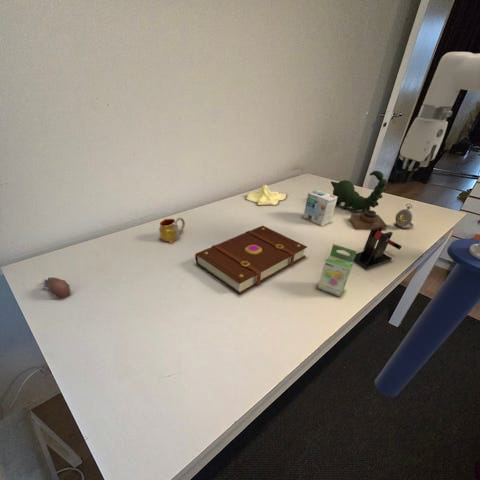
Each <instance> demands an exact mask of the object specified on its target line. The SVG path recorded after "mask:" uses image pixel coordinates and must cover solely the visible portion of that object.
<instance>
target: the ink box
mask: <svg viewBox="0 0 480 480" xmlns="http://www.w3.org/2000/svg"><path fill="white" fill-rule="evenodd" d="M338 251H343V252H346V253H347V254H344V253H341V252H338ZM357 253H358V250H355V249H351V248H348V247H345V246H341V245H338V244H332V245H331V249H330V253H329V256H327V258H326V259H325V261H324V264H323V267H322V271H321V274H320V278H319V282H318V285H317V286H318V287H317V289H318V290H321V291H324V292H326V293H329V294H332V295H335V296H337V297H340V296H341V294H342V293H343V291H344V290H345V287H346V284H347V281H348V278H349V276H350V273H351V270H352V267H353V265H354V258H355V256H356V254H357ZM348 254H349V255H348Z"/></svg>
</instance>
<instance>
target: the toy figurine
mask: <svg viewBox="0 0 480 480" xmlns="http://www.w3.org/2000/svg"><path fill="white" fill-rule="evenodd" d="M371 176H374V177H375V178H376V180H377V181H378V182H377V184H376V185H375V187H374V189H373V191H371V192H370V195H368V196H367V197H364V196H362V195H360V193H359V192H358V191H357V190H356V189H355V185H354V184H353V182H352V181H350V180H347V179H344V180H341V181H339V182H337V181H332V180H331V181H330V184H331V186H332V187H333V190H332V195H334V196H337V197H338V198H337V201H336V205H335V206H339V205H341V203H343V209H345V210H347V209H349V208H352V210H351V211H352V212H353V213H357V212H359V211H361V214H362V213H363V212H366V211H367V210H371V208H372V209H374V208H376V207H378V206H379V202H378V201H379V200H380V199H382V198H383V193H384V192H386V190H387V188H386V186H389V182H388V180H387V179H386V178H384V173H382V172H381V171H380V170H373V171H372V172H370V173H369V177H371Z"/></svg>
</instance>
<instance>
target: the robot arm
mask: <svg viewBox="0 0 480 480" xmlns="http://www.w3.org/2000/svg"><path fill="white" fill-rule="evenodd" d="M461 90H465V91H470V92H473V93H480V53H473V52H471V51H449V52H446V53H445V54H444V55H443V56H442V57H441V58H440V60H439V62H438V65H437V67H436V70H435V72H434V74H433V77H432V80H431V81H430V85H429V87H428V89H427V92H426V95H425V97H424V100H423V102H422V104H421V106H420V109H419V112H418V115H417V116H416V117H415V118H414V120H413V122H412V123H411V124H410V127H409V129H408V131H407V133H406V135H405V138H404V140H403V142H402V144H401V147H400V151H399V156H398V159H400V160H401V161H402V172H401V175H400V177H399V179H398V183H400V184H402V185H404V184H405V185H406V184H410V182H411V180H412V178H413V175H414V173H415V172H416V171H417V170H419V169H420V168H426V167H428V166H429V164H430V162H431V161H434V160H435V159H436V156H437V154H438V152H439V150H440V147H441V145H442V143H443V141H444V140H443V139H444V137H445V134H446V131H447V128H448V123H449V121H447V120H448V118H451V116H452V115H453V110H452V109H453V106H454V104H455V102H456V100H457V98H458V96H459V94H460V91H461ZM469 252H470V253H471V254H472V255H473V256H474V257H476V258H478V259H480V242H479V244H474V245H472V246H470V248H469Z"/></svg>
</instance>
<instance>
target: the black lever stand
mask: <svg viewBox="0 0 480 480" xmlns="http://www.w3.org/2000/svg"><path fill="white" fill-rule="evenodd" d="M382 229H383V228H382V227H377V228H374V229H371V230H369V231H370V232H369V234H368V237H367V239H366V242H365V245H364V247H363V250H362V251H361V252H357V253H356V256H355V258H354V261H353V263H355V264H357V265H358V266H360V267H361V268H363V269H365V270H367V271H368V270H370V269H373V268H376V267H379V266H381V265H384V264H387V263H389V262H391V261H392V259H393V258H392V257H391V256H389V255H388V254H385V251H386V249H387V247H388V245H389V244H388V242H389V240H391V238H392V236H393V234H394V232H392V231H388V232H383V230H382ZM377 231H380V232H383V233H384V234H381V236H380V238H379V240H377V239H376V238H374V237H373V236H374V235H375V234H376V232H377Z"/></svg>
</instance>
